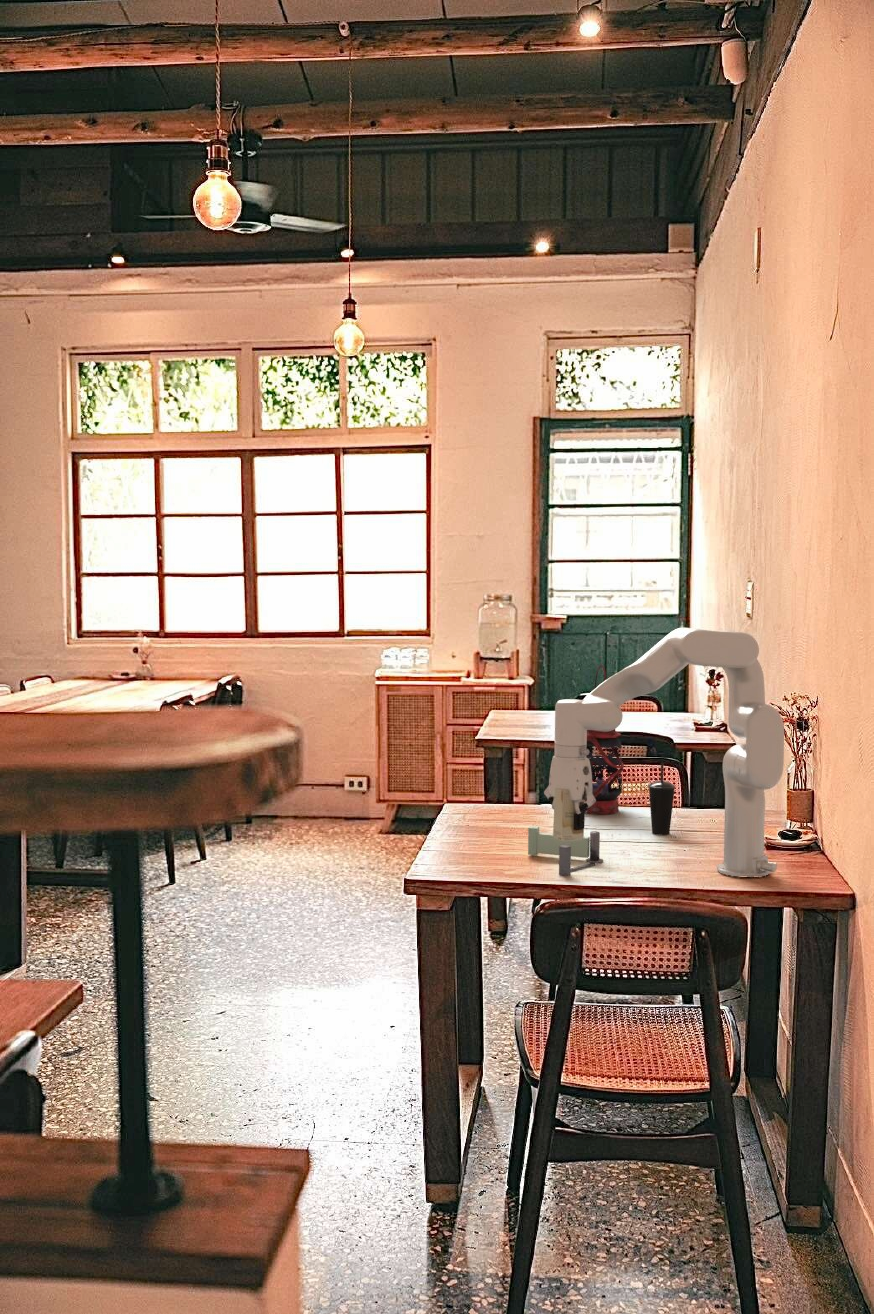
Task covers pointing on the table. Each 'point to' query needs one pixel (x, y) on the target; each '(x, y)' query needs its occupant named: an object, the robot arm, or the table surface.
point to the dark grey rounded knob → (594, 848)
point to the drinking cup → (661, 805)
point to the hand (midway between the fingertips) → (569, 826)
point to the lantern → (602, 788)
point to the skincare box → (565, 818)
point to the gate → (554, 844)
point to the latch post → (568, 861)
